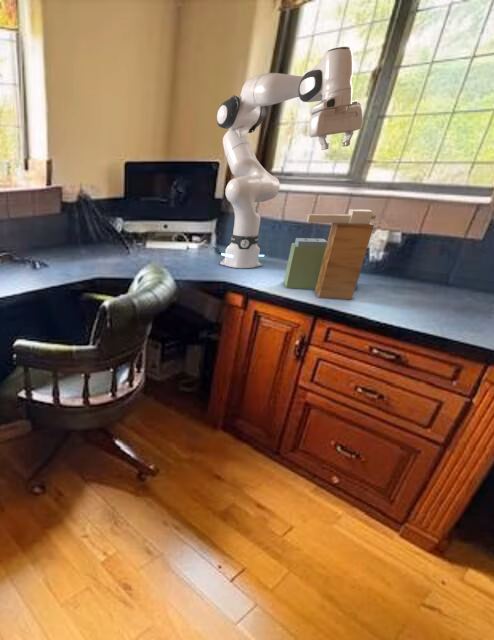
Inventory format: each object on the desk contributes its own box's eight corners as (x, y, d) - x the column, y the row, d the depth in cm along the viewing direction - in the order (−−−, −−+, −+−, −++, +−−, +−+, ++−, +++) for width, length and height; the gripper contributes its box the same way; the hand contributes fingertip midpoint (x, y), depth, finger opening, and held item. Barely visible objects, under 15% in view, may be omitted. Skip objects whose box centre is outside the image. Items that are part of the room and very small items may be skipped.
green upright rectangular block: (283, 282, 175) (293, 237, 166) (315, 284, 172) (326, 238, 163) (286, 287, 169) (296, 241, 160) (318, 289, 165) (331, 242, 157)
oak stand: (314, 291, 163) (332, 220, 151) (346, 293, 161) (367, 221, 148) (318, 297, 157) (337, 224, 144) (351, 299, 154) (374, 224, 141)
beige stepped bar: (306, 220, 152) (308, 209, 150) (370, 221, 147) (374, 209, 145) (308, 223, 148) (311, 210, 146) (374, 224, 142) (378, 211, 141)
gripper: (352, 103, 149) (351, 146, 154) (305, 109, 145) (305, 153, 149) (368, 96, 144) (366, 141, 148) (320, 103, 139) (319, 149, 144)
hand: (335, 147), depth 149 cm, fingers open, 8 cm apart
